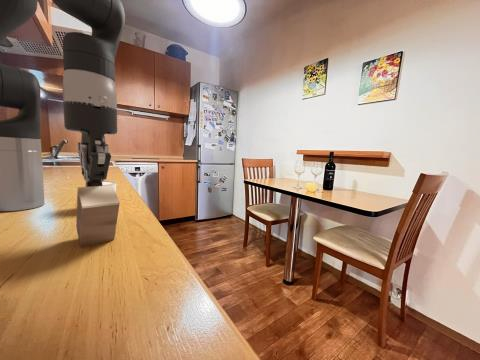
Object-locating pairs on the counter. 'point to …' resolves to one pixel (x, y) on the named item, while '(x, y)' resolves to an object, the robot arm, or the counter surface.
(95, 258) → the counter surface
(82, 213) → the greyish brown block
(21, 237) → the counter surface
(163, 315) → the counter surface
